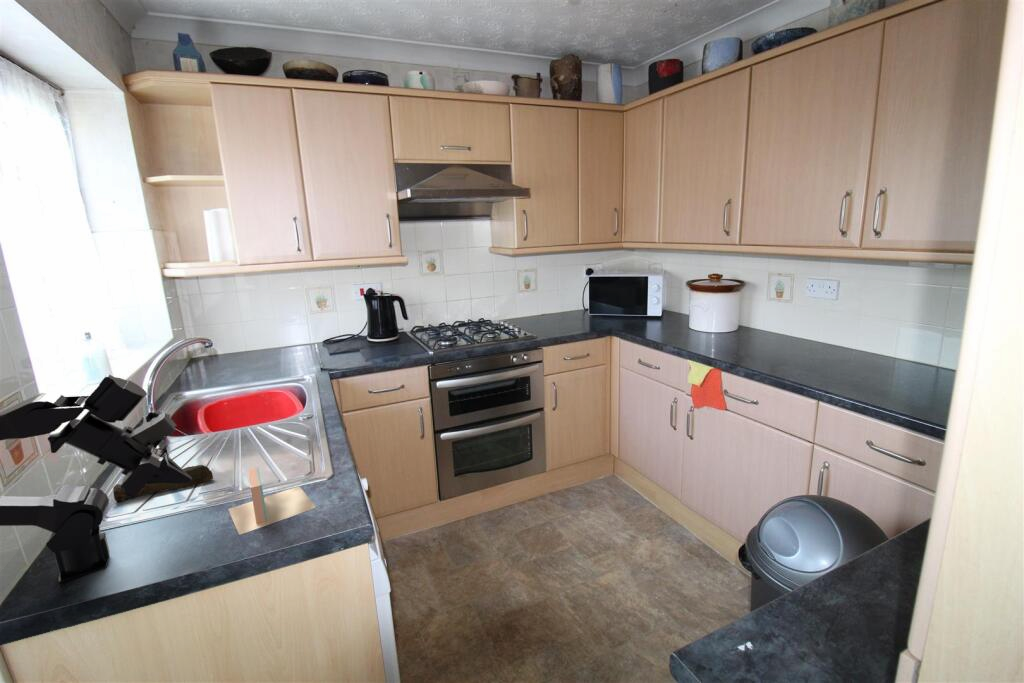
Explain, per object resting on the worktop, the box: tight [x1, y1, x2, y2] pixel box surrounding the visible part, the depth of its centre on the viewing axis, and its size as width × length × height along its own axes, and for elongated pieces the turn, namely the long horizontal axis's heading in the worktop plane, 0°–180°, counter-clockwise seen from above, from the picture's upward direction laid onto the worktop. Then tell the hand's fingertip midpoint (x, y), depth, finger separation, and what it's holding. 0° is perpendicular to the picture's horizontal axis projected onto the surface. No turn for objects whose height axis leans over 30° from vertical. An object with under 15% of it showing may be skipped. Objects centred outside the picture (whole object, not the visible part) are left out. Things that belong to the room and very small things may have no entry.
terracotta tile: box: [247, 467, 267, 524], centre depth 102 cm, size 2×9×8 cm, turn 30°
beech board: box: [227, 485, 317, 536], centre depth 105 cm, size 14×12×1 cm
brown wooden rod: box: [112, 464, 214, 503], centre depth 115 cm, size 19×4×5 cm, turn 115°
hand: (189, 480), depth 96 cm, fingers closed
